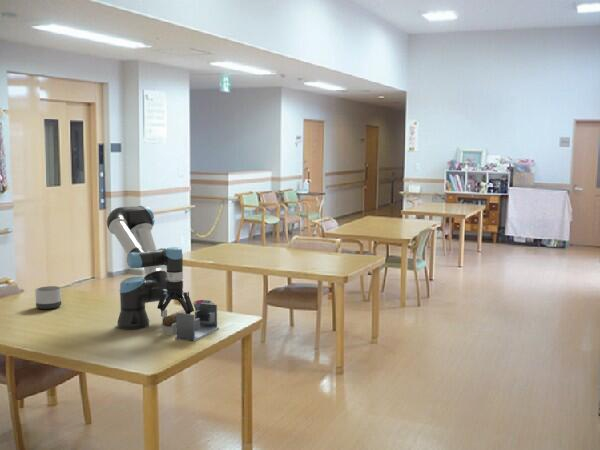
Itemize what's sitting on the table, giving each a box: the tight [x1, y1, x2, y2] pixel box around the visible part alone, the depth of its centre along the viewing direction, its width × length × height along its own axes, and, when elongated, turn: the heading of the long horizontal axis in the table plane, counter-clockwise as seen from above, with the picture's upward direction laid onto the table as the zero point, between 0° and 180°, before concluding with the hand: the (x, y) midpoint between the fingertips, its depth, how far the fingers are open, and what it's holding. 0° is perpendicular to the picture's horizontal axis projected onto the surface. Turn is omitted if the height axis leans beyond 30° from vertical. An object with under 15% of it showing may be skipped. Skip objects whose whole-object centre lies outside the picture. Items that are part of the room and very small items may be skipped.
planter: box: [34, 285, 62, 310], centre depth 342 cm, size 13×13×10 cm
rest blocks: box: [160, 322, 177, 336], centre depth 300 cm, size 6×14×5 cm, turn 157°
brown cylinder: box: [161, 309, 186, 327], centre depth 299 cm, size 15×4×4 cm, turn 157°
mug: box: [192, 299, 215, 312], centre depth 314 cm, size 12×9×11 cm
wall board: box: [174, 325, 220, 342], centre depth 295 cm, size 11×21×1 cm, turn 157°
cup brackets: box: [175, 303, 218, 342], centre depth 295 cm, size 9×21×12 cm, turn 157°
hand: (175, 324), depth 300 cm, fingers open, 12 cm apart
